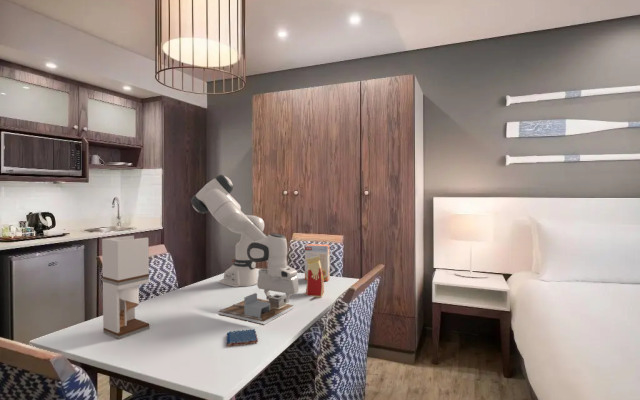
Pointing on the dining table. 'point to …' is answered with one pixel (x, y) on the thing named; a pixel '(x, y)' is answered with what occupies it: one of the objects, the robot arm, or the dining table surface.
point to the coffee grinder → (123, 284)
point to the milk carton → (315, 278)
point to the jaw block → (277, 301)
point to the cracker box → (324, 254)
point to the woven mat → (241, 337)
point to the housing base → (239, 311)
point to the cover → (255, 306)
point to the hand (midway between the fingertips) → (277, 300)
